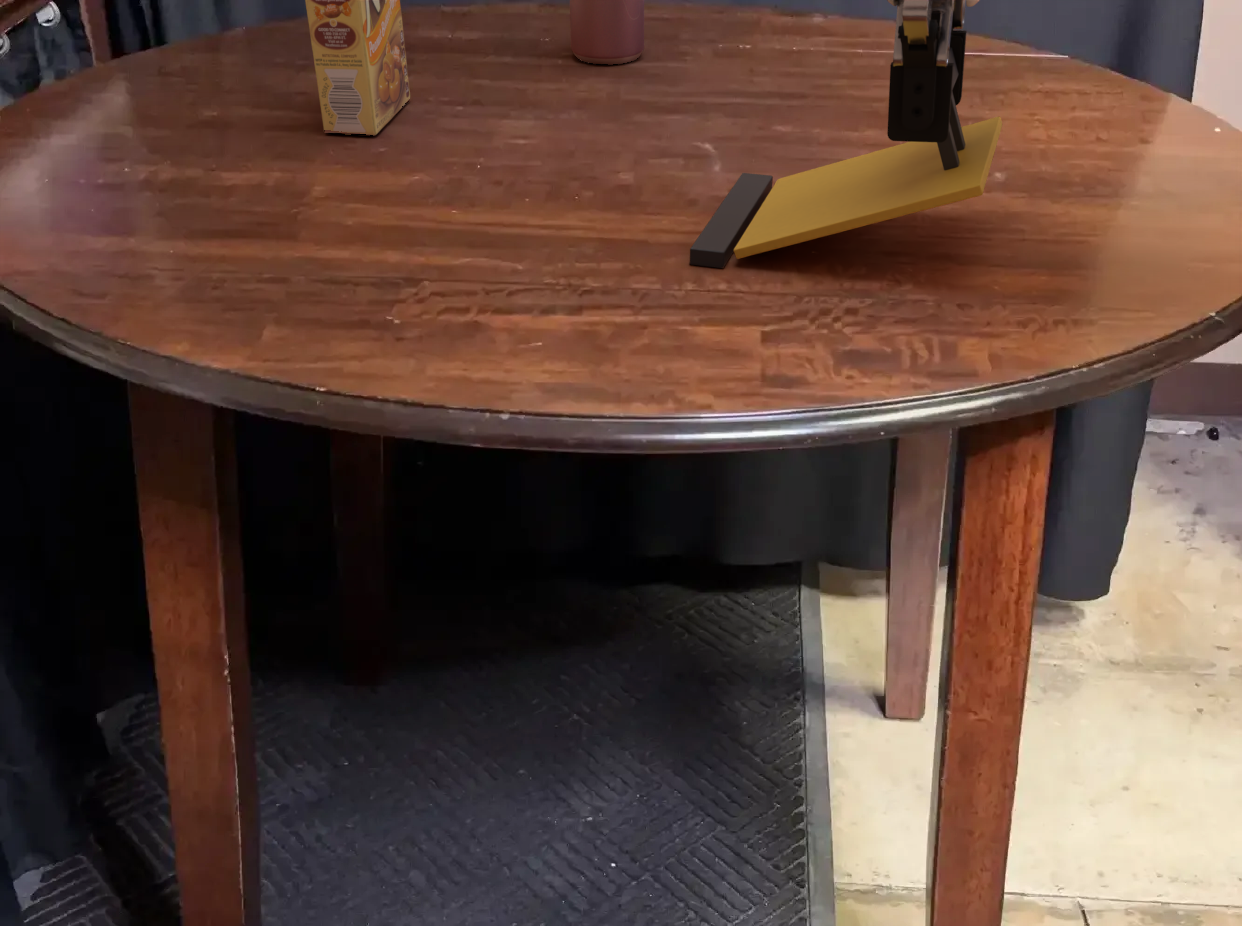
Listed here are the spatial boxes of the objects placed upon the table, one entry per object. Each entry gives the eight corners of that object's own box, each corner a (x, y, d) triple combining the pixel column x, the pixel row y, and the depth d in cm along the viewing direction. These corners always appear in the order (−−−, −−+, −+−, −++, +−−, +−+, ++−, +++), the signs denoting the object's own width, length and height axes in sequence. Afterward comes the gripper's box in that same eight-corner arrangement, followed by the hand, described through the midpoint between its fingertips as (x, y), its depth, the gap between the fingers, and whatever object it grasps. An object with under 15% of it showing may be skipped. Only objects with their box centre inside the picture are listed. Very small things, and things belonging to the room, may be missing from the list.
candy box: (378, 138, 99) (351, -102, 90) (320, 136, 99) (287, -103, 90) (412, 100, 106) (391, -126, 97) (358, 98, 106) (332, -127, 97)
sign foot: (772, 190, 90) (773, 175, 89) (723, 268, 80) (724, 252, 79) (741, 187, 90) (742, 172, 90) (689, 265, 80) (689, 248, 80)
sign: (1002, 125, 83) (979, 25, 80) (982, 195, 74) (955, 85, 71) (780, 187, 89) (751, 97, 86) (736, 259, 80) (702, 160, 77)
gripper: (1014, -240, 60) (979, 176, 71) (1039, -276, 73) (1007, 79, 84) (839, -232, 62) (830, 171, 73) (894, -269, 75) (880, 76, 86)
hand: (925, 118), depth 78 cm, fingers closed on sign, 5 cm apart
